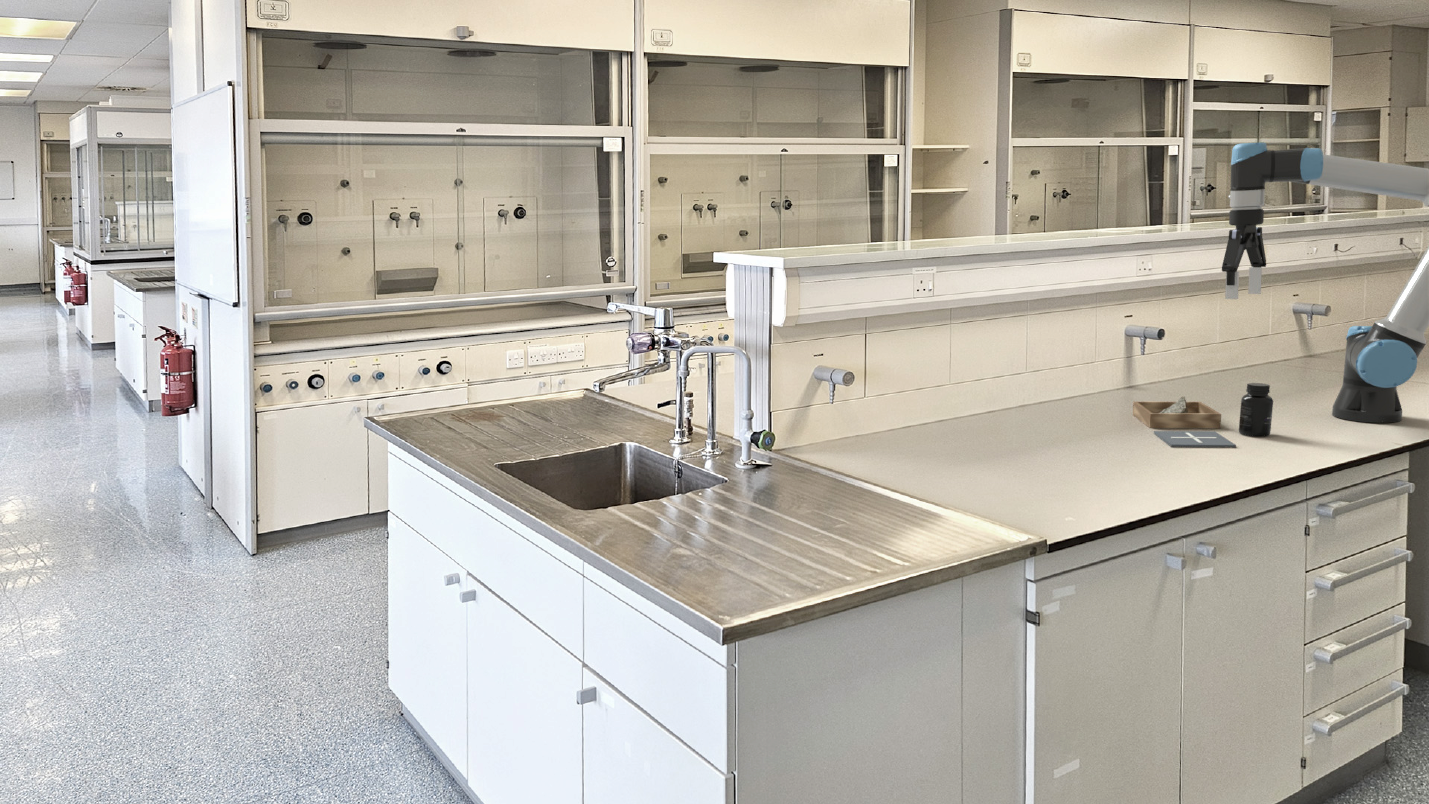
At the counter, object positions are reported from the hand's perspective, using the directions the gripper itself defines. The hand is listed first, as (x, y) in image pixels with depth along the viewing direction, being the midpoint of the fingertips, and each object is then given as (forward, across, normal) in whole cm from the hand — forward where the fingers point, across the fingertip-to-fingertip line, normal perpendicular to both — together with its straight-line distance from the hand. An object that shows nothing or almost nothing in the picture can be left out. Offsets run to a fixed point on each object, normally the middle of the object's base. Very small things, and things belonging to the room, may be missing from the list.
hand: (1243, 296), depth 269 cm
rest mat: (+31, +28, +1) cm, 42 cm away
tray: (+31, +11, -11) cm, 34 cm away
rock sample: (+31, +11, -12) cm, 35 cm away
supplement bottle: (+31, +12, +9) cm, 35 cm away
